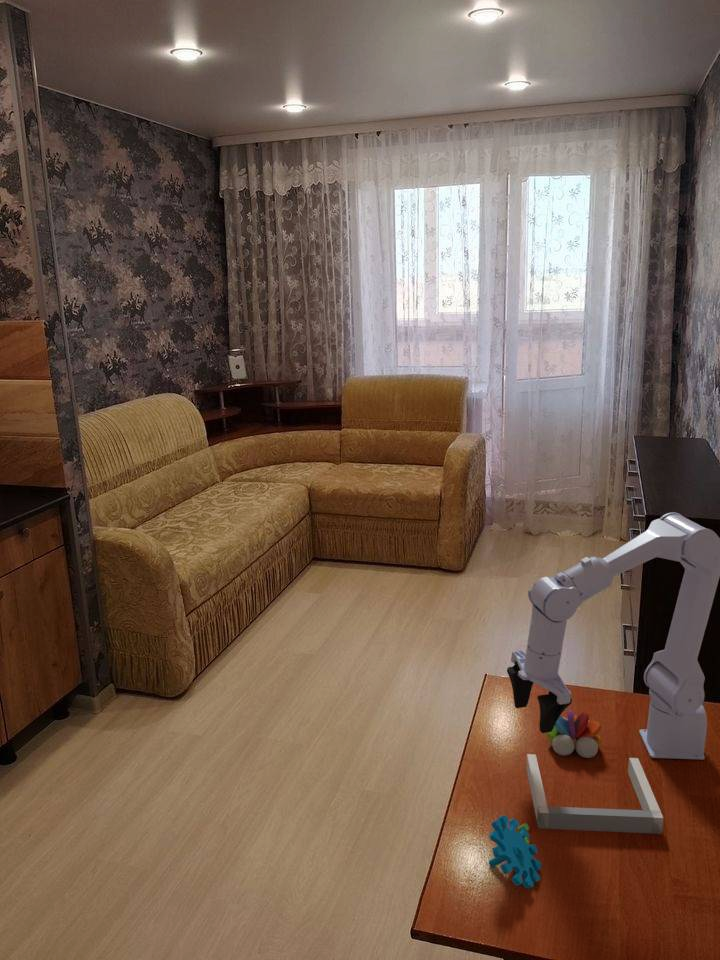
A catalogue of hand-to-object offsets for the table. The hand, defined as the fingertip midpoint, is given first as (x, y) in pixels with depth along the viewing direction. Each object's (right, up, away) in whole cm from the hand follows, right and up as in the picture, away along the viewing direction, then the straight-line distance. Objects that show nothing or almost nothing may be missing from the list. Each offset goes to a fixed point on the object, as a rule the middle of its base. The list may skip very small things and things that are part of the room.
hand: (532, 718), depth 129 cm
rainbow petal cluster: (+10, -8, +9) cm, 16 cm away
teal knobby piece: (-7, -17, -18) cm, 26 cm away
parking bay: (+9, -12, -4) cm, 15 cm away
